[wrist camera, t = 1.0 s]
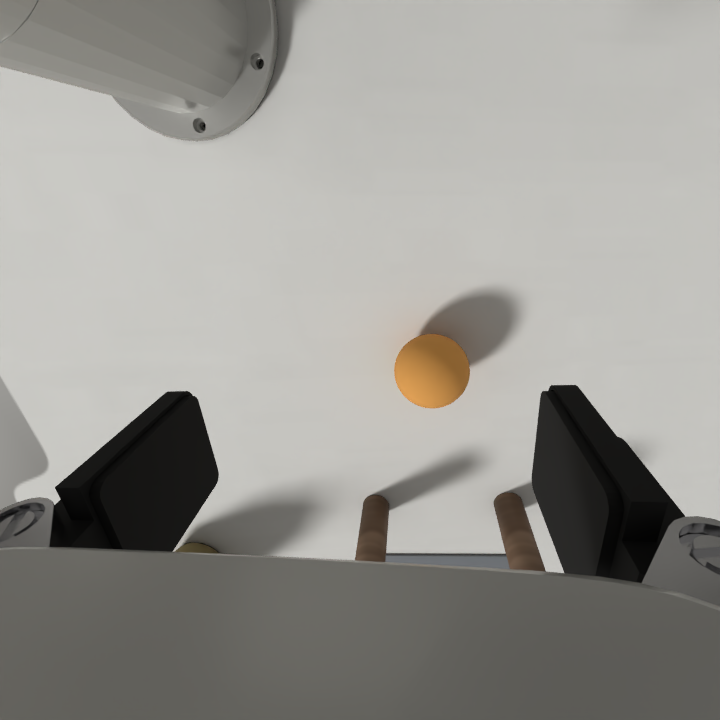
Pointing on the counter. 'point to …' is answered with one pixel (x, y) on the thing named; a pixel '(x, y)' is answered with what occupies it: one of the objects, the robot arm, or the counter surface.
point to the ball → (432, 371)
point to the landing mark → (452, 560)
